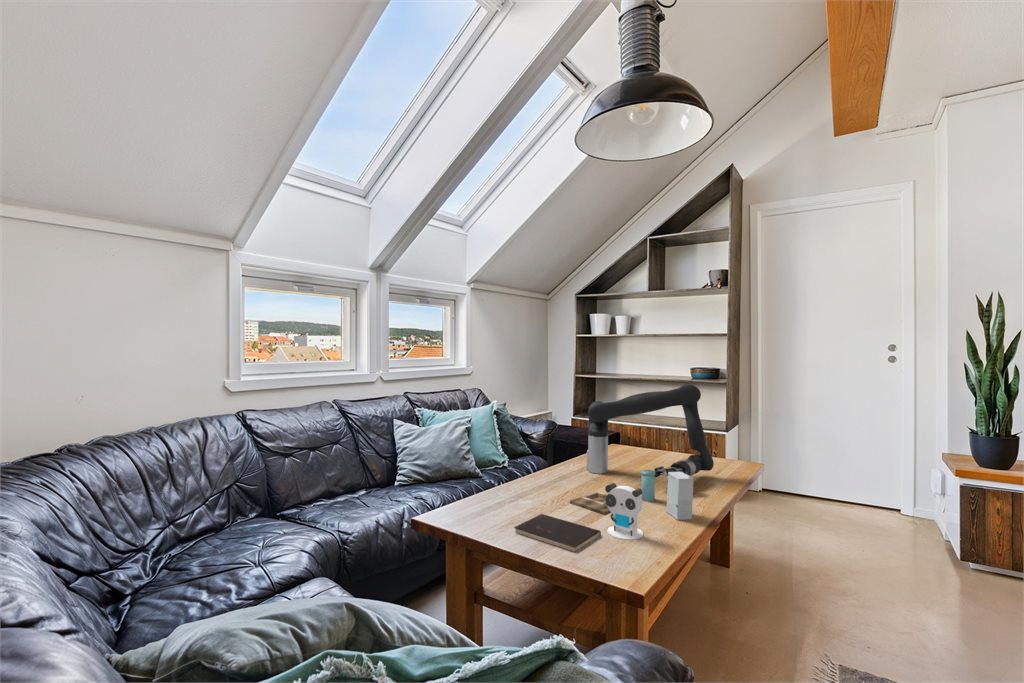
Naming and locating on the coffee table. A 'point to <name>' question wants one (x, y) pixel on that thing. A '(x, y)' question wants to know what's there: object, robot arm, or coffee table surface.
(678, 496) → the skincare box
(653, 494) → the teal domed canister
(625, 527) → the panda figurine
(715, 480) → the coffee table surface
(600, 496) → the collar base
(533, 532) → the hardcover book
